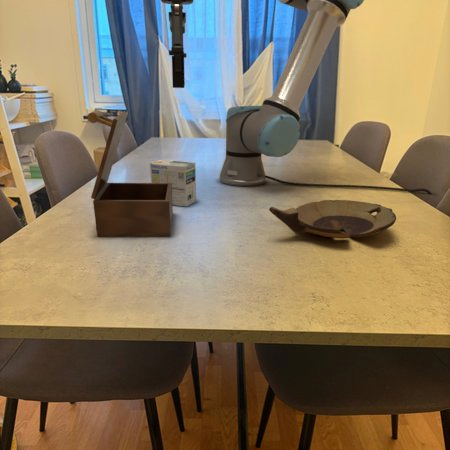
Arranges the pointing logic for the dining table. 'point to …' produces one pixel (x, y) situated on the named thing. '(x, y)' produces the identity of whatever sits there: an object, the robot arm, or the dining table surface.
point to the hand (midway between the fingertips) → (179, 87)
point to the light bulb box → (176, 179)
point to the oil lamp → (337, 218)
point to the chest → (134, 210)
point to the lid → (107, 146)
